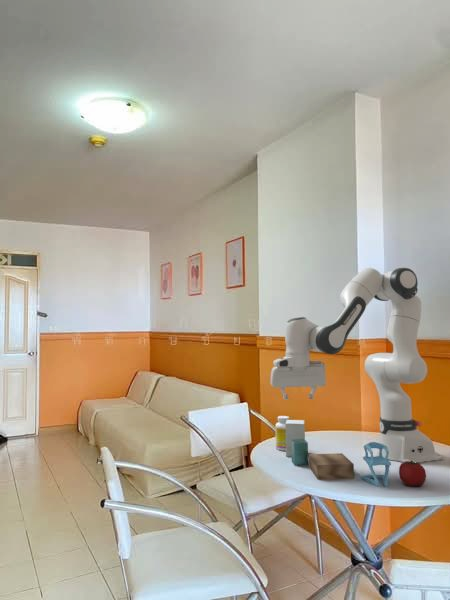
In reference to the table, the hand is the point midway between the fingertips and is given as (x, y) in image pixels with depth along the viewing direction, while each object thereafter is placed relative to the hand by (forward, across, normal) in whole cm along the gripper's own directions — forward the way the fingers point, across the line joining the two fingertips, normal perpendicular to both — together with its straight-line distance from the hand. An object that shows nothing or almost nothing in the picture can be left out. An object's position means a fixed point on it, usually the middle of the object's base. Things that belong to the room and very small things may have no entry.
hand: (298, 399), depth 158 cm
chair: (+23, -20, +21) cm, 37 cm away
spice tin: (+23, 0, 0) cm, 23 cm away
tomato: (+23, -30, +24) cm, 45 cm away
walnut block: (+24, -8, +11) cm, 27 cm away
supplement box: (+23, -1, -11) cm, 26 cm away
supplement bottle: (+23, +2, -19) cm, 30 cm away
